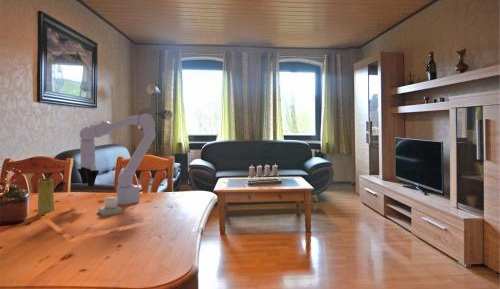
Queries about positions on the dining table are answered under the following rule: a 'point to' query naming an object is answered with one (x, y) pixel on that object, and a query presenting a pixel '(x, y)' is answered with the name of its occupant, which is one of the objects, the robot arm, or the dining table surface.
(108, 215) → the tower base
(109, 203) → the white rounded dome
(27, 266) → the dining table surface
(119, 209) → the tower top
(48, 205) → the vase
